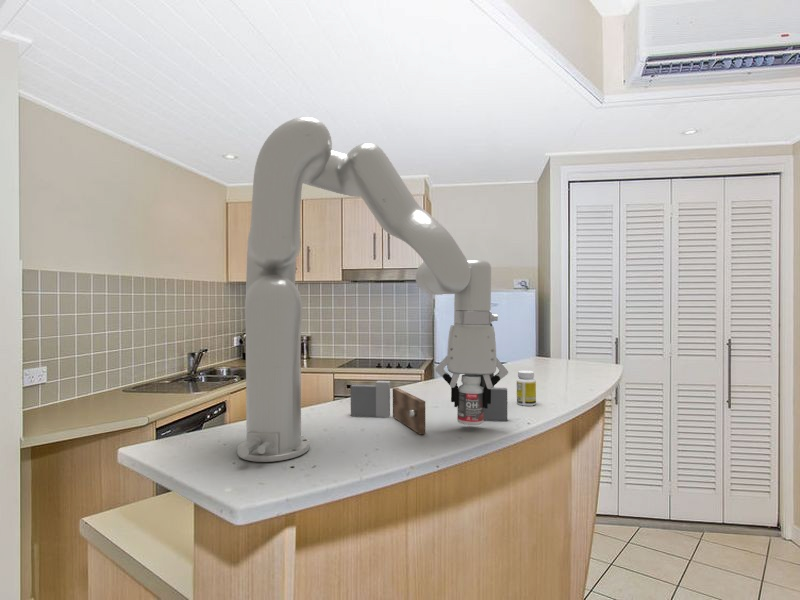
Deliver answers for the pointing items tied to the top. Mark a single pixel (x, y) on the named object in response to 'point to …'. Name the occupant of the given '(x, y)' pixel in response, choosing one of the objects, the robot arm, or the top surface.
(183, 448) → the top surface
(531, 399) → the supplement bottle
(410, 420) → the door
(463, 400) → the pill bottle
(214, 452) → the top surface
